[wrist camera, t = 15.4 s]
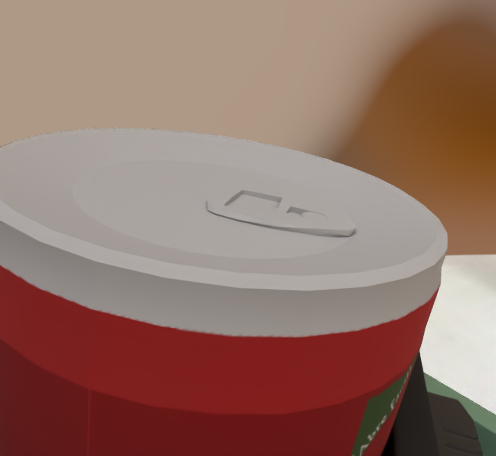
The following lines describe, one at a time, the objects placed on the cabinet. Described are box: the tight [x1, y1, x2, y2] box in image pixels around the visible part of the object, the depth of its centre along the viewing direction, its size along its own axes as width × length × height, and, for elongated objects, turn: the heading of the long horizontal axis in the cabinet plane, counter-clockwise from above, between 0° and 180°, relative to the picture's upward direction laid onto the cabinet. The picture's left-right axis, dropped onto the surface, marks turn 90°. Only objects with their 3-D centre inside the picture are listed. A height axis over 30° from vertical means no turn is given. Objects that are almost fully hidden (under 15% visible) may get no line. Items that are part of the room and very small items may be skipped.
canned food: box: [0, 128, 448, 456], centre depth 10 cm, size 8×8×11 cm
